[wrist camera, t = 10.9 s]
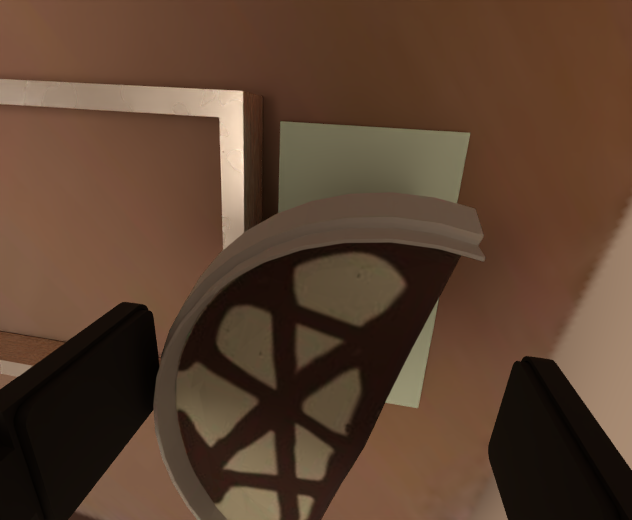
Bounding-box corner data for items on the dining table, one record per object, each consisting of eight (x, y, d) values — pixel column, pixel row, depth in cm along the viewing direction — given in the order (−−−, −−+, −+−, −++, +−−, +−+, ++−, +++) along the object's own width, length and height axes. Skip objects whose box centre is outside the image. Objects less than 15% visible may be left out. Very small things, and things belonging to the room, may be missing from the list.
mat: (283, 121, 17) (280, 121, 16) (467, 132, 16) (470, 132, 15) (276, 377, 22) (274, 383, 21) (417, 400, 20) (418, 408, 20)
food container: (300, 122, 16) (181, 111, 7) (434, 172, 16) (500, 231, 6) (233, 345, 21) (106, 521, 11) (336, 387, 20) (292, 604, 11)
